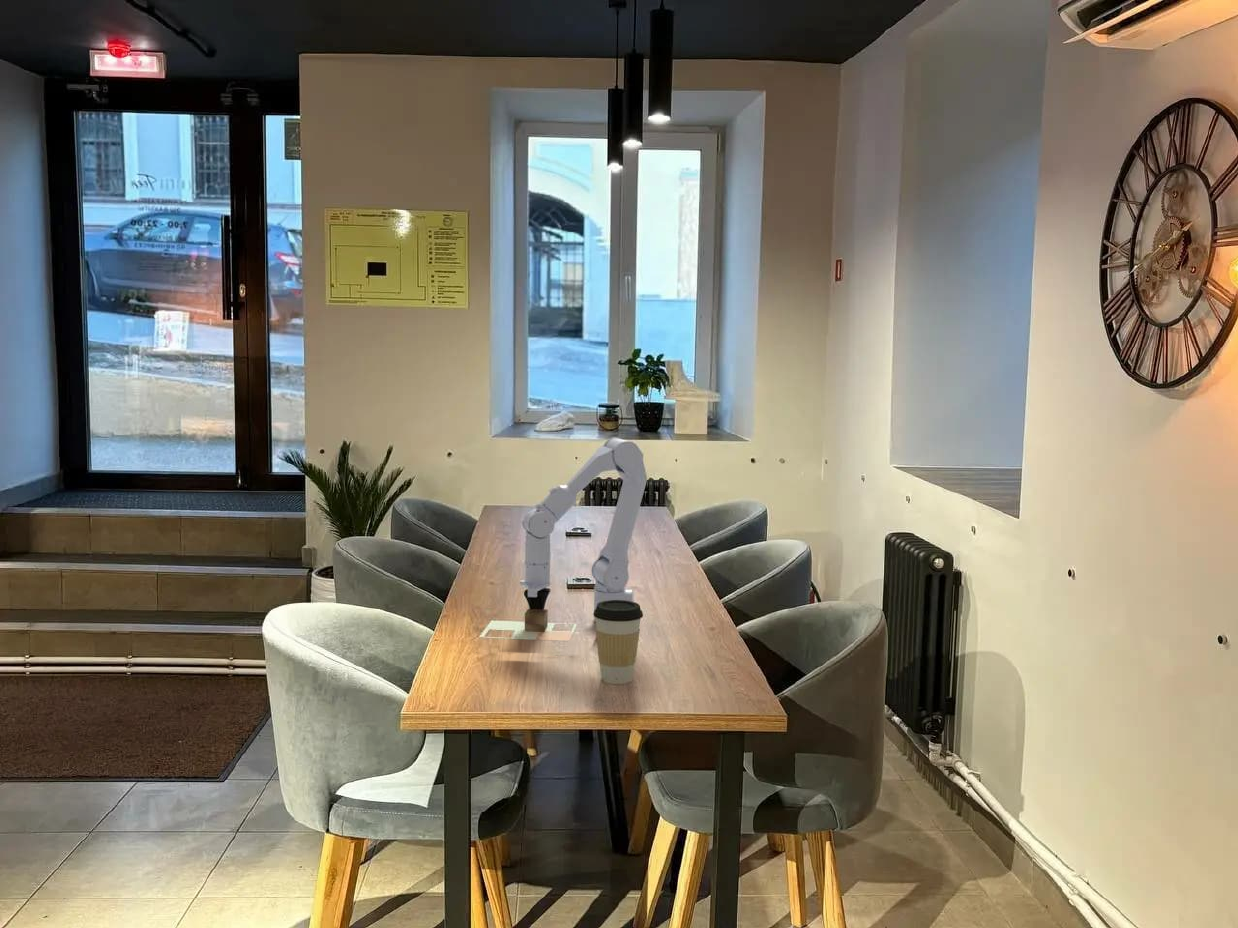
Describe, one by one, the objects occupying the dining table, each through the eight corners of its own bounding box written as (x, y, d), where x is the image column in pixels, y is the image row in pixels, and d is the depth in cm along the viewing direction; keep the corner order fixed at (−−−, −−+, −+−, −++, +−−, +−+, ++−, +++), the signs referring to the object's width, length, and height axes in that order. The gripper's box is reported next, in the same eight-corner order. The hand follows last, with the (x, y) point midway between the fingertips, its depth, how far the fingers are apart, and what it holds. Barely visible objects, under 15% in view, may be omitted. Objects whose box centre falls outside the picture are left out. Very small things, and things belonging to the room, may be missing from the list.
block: (547, 626, 241) (547, 609, 241) (544, 631, 237) (544, 614, 237) (527, 625, 242) (528, 608, 241) (524, 631, 237) (524, 613, 237)
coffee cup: (640, 671, 215) (641, 599, 213) (642, 687, 205) (644, 611, 203) (591, 671, 215) (593, 598, 213) (592, 686, 205) (593, 611, 203)
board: (576, 630, 244) (576, 623, 244) (569, 647, 231) (569, 640, 230) (491, 626, 246) (491, 620, 246) (478, 643, 232) (478, 637, 232)
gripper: (525, 555, 249) (525, 611, 250) (514, 568, 234) (513, 628, 236) (555, 556, 248) (554, 613, 250) (546, 569, 234) (545, 629, 236)
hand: (536, 620), depth 243 cm, fingers closed
